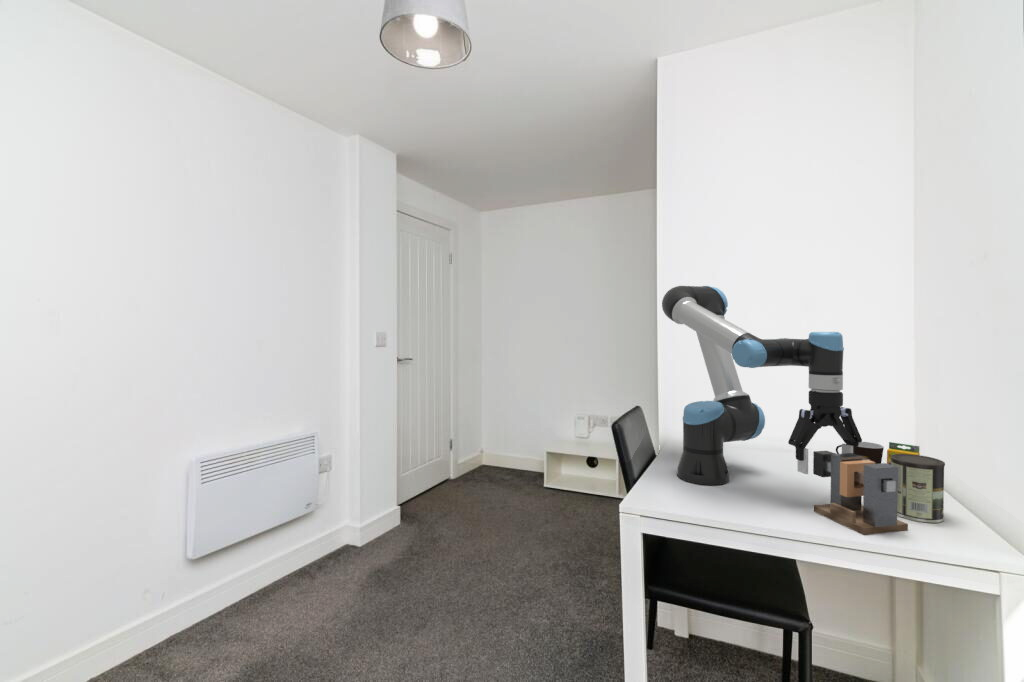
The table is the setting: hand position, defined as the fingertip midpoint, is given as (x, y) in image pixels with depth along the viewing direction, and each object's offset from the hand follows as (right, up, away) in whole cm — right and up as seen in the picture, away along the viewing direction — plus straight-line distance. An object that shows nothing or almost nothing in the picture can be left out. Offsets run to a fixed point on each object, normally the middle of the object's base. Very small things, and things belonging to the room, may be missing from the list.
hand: (825, 471), depth 124 cm
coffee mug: (+28, -8, +25) cm, 38 cm away
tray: (+2, -9, -9) cm, 13 cm away
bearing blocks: (+2, -8, -10) cm, 13 cm away
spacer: (+2, -3, -9) cm, 10 cm away
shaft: (+1, -1, -8) cm, 8 cm away
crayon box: (+35, -9, +17) cm, 40 cm away
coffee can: (+19, -9, -6) cm, 22 cm away
